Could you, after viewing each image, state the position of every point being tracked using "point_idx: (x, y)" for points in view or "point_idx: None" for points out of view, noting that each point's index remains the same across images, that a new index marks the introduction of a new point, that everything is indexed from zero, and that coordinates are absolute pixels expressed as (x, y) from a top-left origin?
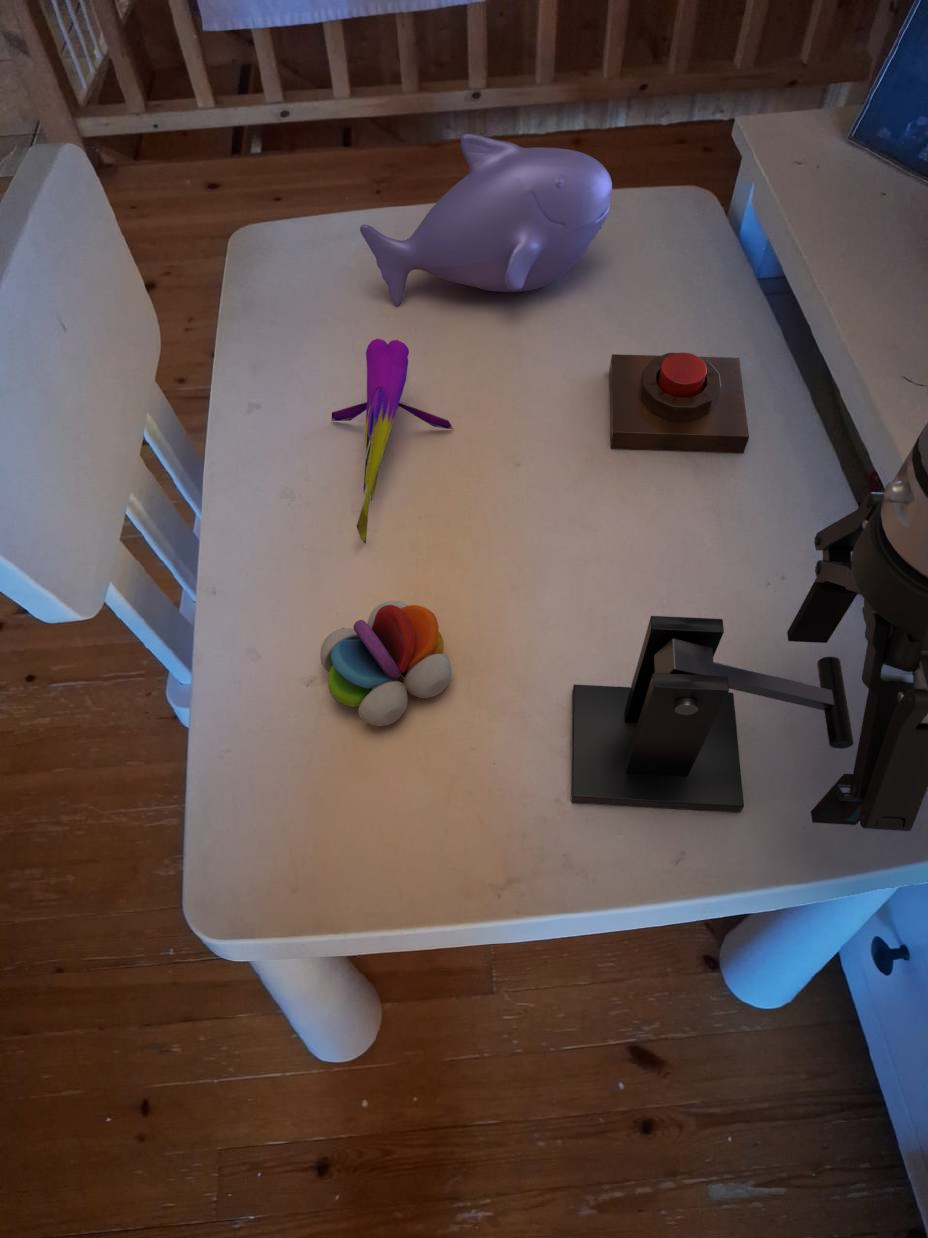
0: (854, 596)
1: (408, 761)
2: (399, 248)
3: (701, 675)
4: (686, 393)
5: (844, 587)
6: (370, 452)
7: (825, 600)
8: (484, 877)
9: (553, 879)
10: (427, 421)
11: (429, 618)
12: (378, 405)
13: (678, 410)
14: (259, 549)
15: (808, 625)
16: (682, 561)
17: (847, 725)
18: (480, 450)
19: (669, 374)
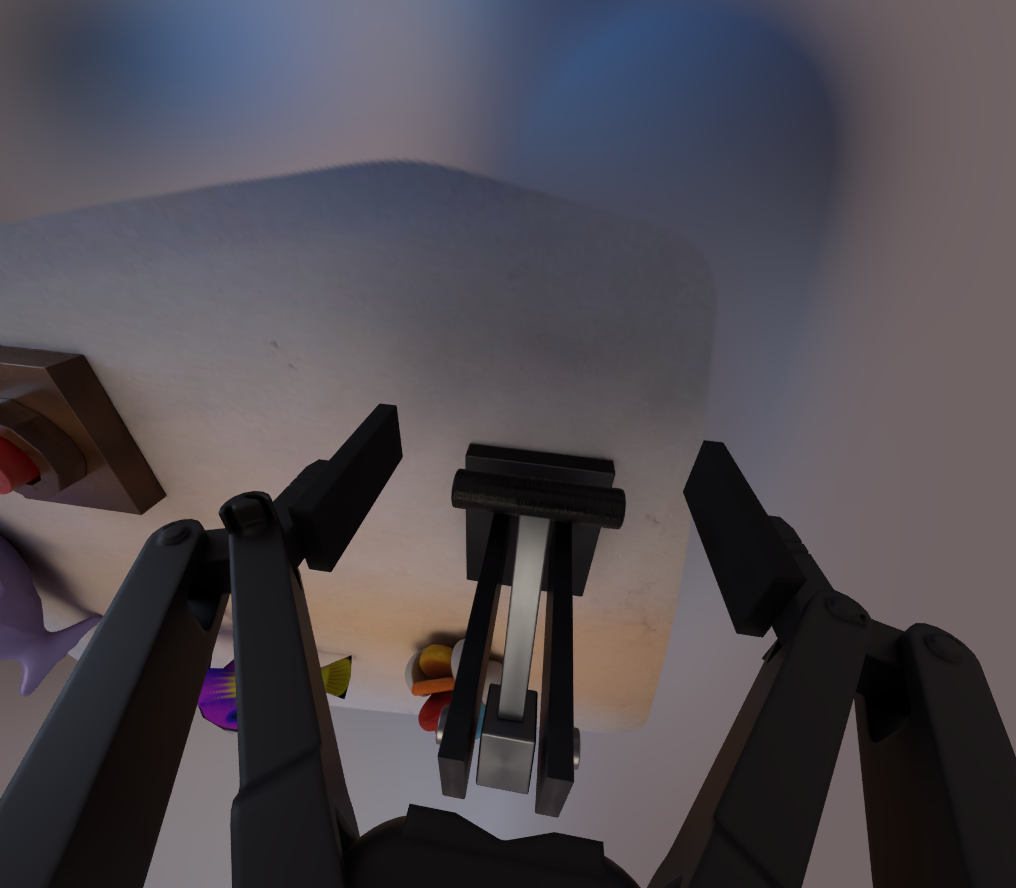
0: (319, 503)
1: (535, 656)
2: (29, 660)
3: (543, 792)
4: (22, 459)
5: (304, 529)
6: None
7: (341, 529)
8: (637, 634)
9: (649, 601)
10: None
11: (424, 693)
12: (219, 700)
13: (60, 464)
14: (372, 694)
15: (380, 473)
16: (290, 455)
17: (594, 512)
18: None
19: (2, 488)
